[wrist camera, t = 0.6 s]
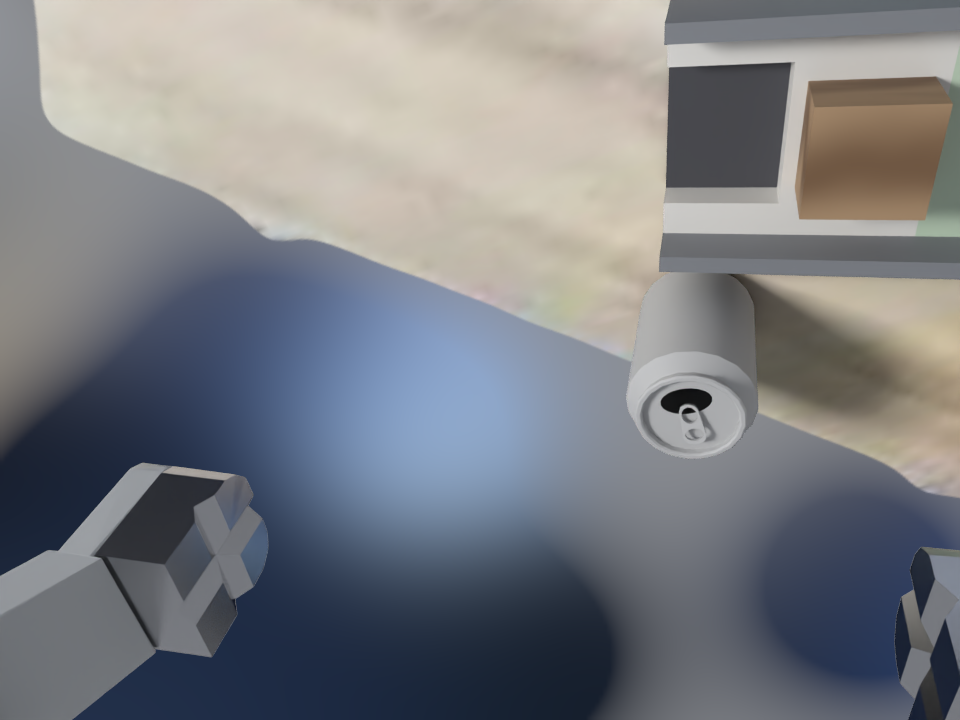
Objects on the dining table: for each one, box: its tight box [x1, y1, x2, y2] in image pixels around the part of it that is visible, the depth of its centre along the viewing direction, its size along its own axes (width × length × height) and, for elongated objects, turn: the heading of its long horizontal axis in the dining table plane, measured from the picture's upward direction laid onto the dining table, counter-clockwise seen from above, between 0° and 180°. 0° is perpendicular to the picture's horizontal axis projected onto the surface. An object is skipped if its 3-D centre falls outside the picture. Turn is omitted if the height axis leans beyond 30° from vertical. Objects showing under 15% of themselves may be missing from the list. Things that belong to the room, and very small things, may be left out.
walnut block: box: [795, 76, 953, 220], centre depth 41 cm, size 6×6×4 cm
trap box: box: [659, 0, 960, 280], centre depth 41 cm, size 14×28×6 cm, turn 97°
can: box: [626, 272, 758, 459], centre depth 49 cm, size 8×8×12 cm
